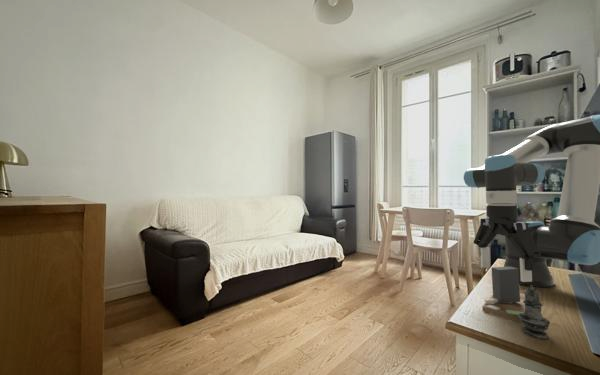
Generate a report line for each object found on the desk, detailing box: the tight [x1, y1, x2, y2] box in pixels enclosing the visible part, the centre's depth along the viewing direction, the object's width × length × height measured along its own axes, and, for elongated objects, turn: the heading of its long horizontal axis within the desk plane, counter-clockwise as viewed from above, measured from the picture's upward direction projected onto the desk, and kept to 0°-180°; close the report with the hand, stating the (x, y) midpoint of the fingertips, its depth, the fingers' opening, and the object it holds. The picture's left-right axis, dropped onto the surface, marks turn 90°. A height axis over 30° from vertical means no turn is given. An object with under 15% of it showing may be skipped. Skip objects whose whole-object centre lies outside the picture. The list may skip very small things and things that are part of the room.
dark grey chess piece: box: [518, 285, 551, 340], centre depth 62 cm, size 6×6×12 cm
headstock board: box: [481, 292, 525, 323], centre depth 76 cm, size 20×10×2 cm, turn 130°
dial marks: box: [486, 305, 523, 315], centre depth 71 cm, size 3×9×1 cm, turn 46°
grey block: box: [483, 266, 521, 304], centre depth 76 cm, size 10×3×10 cm, turn 95°
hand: (504, 273), depth 76 cm, fingers open, 13 cm apart
